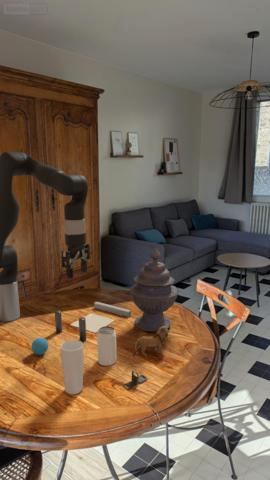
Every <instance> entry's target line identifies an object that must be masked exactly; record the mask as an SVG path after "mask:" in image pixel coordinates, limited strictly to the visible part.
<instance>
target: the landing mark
mask: <svg viewBox="0 0 270 480" xmlns="http://www.w3.org/2000/svg"><path fill="white" fill-rule="evenodd" d="M84 318H85V320H86V332H90V333H94V334H96V333H98V330H99V328H101V327H104V326H109V325H110V324H112V323H114V322H116V320H115V319H112V318H109V317H106V316H102V315H98V314H95V313H91V312H90V313H89V314H87V315H85V316H84ZM70 326H72V327H75V328H78V329H79V319H78V320H76V321H74V322H72V323H71V324H70Z"/></svg>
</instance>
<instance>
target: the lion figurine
mask: <svg viewBox="0 0 270 480" xmlns="http://www.w3.org/2000/svg"><path fill="white" fill-rule="evenodd" d="M168 329H169V328H167V327H165V326H162V327H160V328H159V330H158V332H155V334H154V335H152V336H146V335H144V336H140V337H139V338H137V340H136V342H135V347H134V352H133V353H132V357H134V356H135V355H136V354H138V353H139V351H138V349H139V348H140V347H141V353H142V355H143V356H144V357H148V354H147V353H145V350H146V348H147V346H148V347H154V350H155V351H158V353H160V354H163V351H162V348H163V345H164V344H165V343H166V342H167V339H168V338H169V330H168Z"/></svg>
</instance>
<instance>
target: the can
mask: <svg viewBox="0 0 270 480" xmlns="http://www.w3.org/2000/svg"><path fill="white" fill-rule="evenodd" d="M115 330H116V329H115V328H114V327H113V326H109V325H107V326H104V327H101V328H99V330H98V332H97V339H96V341H97V362H98V364H100V365H101V366H104V367H110V366H113V365H115V363H116V362H117V334H116V331H115Z"/></svg>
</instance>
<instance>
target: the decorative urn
mask: <svg viewBox="0 0 270 480" xmlns="http://www.w3.org/2000/svg"><path fill="white" fill-rule="evenodd" d="M149 256H150V258H151V259H152V261H148V262H146V263H144V267H143V266H142V268H140V269H139V272H138V274H137V275H136V276H135V277H134V278H133V280H134V282H136V283H135V284H134V285H132V286H130V288H129V292H130V296H131V299H132V302H133V304H134V305H135V307H137V308H138V310H139V311H141V312H143V313H142V315H141V316H137V318H136V319H134V322H133V323H134V326H135V327H137V328H139V329H140V330H142V331H144V332H149V333H150V332H151V333H152V332H154V333H156V332H158V330H159V328H160V327H162V326H165V327H167V328H168V329H169V328H170V327H171V325H172V320H171V319H170V318H168V317H167V316H164V313H165V312H167V311H168V310H169V309H170V308H171V307H173V306H174V304H175V302H176V300H177V299H178V298H177V297H178V293H179V290H178V289H177V287H176V286H175V285H172V284H173V283H174V282H175V279H174V278H173V276H171V274H170V271H169V270H168V269H167V268H166V265H165V263H164V262H160V261H158V260H159V259H160V258H161V256H162V255H161V253H160V251H159V250H158V248H157V247H155V248H153V250H152V251H150V254H149Z"/></svg>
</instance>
